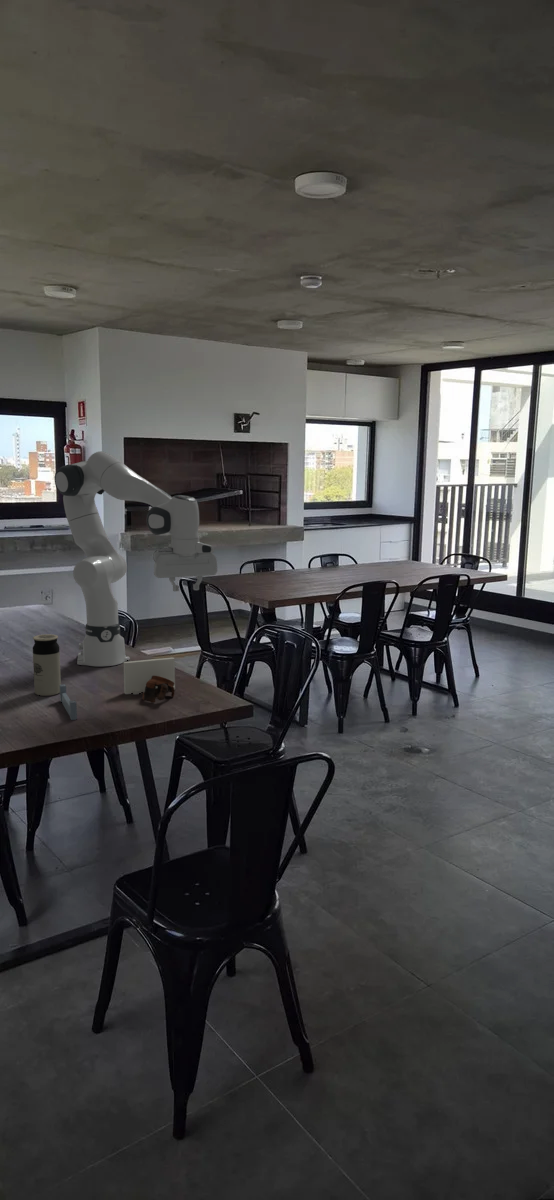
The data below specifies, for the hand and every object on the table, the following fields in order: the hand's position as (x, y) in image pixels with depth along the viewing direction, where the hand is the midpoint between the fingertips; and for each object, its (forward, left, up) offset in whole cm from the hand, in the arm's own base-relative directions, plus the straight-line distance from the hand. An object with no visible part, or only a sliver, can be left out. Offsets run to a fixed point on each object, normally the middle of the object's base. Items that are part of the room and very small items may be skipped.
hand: (186, 590), depth 256 cm
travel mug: (-8, -43, -31) cm, 54 cm away
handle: (+12, -40, -31) cm, 52 cm away
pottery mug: (+12, -13, -32) cm, 36 cm away
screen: (+2, -13, -31) cm, 34 cm away
